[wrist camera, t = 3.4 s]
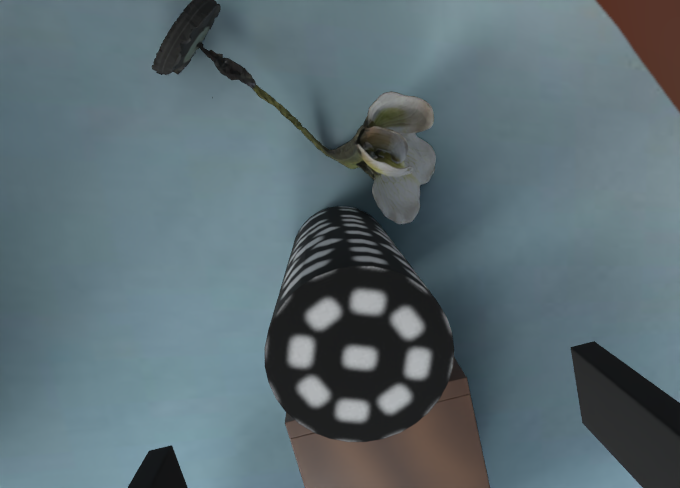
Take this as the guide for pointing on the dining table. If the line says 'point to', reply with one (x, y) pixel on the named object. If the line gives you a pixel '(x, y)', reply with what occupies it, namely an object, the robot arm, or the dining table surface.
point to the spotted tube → (355, 333)
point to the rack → (401, 450)
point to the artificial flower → (362, 151)
